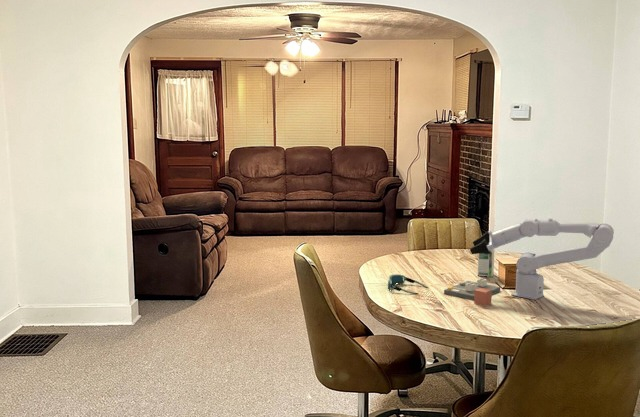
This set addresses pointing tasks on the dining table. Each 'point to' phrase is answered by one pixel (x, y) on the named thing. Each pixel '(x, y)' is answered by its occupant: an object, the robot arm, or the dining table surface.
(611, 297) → the dining table surface
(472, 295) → the breaker panel
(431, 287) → the dining table surface
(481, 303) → the block
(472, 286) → the tagged breaker switch
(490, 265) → the syrup box
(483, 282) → the breaker switch
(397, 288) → the sunglasses
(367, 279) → the dining table surface
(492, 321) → the dining table surface
